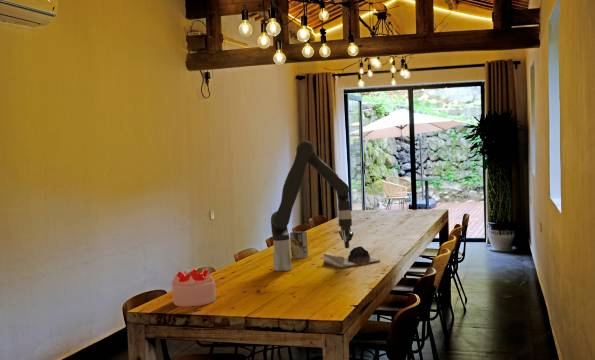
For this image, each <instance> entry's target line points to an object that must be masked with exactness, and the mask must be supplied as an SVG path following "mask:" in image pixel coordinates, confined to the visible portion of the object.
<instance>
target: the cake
mask: <svg viewBox="0 0 595 360" xmlns="http://www.w3.org/2000/svg"><path fill="white" fill-rule="evenodd" d="M171 284H172V285H171V287H172V288H171V289H172V300H173V301H172V302H173V305H174V306H175V307H180V308H181V307H182V308H191V307H192V306H193V307H200V306H206V305H208V304H212V303H213V302H215V301H216V300H217V291H216V280H215V279H214V277H213V276H212V275H211V272H210V271H209V269H205V268H202V271H201V272H200V271H199V270H198V269H196V268H194V269H193V270H192V271H191V272H189V273H188V272H187V271H186V270H185V271H184V273H183V272H182V271H178V272H177V273H176V274H175V276H174V278H173V280H172V281H171ZM193 307H192V308H193Z"/></svg>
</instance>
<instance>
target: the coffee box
mask: <svg viewBox="0 0 595 360" xmlns="http://www.w3.org/2000/svg"><path fill="white" fill-rule="evenodd" d="M307 236H308V235H307V231H292V232H289V240H290V254H291V259H306V258H308V257H309V250H308V247H309V246H308V237H307Z"/></svg>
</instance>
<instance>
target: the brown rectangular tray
mask: <svg viewBox="0 0 595 360" xmlns="http://www.w3.org/2000/svg"><path fill="white" fill-rule="evenodd" d="M322 254H323V256H322V257H323V262H322V264H323V265H325V266H329V267H333V268H338V269H340V270H341V269H347V268H353V267H354V268H355V267H359V266H363V265H369V264H370V265H371V264H376V263H380V262H381V260H380V259H377V258H373V257H372V258H371V257H370V260H369V261H363V262H351V261H349V260H348V257H347V258H345V257H343V256H342V255H341V256H340V255H336V254H332V253H329V252H328V253H327V252H326V253H325V252H324V253H322Z"/></svg>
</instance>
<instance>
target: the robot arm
mask: <svg viewBox="0 0 595 360" xmlns="http://www.w3.org/2000/svg"><path fill="white" fill-rule="evenodd" d="M295 151H296V154H295V157H294V161H293V163H292V165H291V168H290V169H289V170H288V171H289V172H288V173H287V176H286V178H285V180H284V184H283V188H282V193H281V199H280V200H281V201H280V203H279V207H278V209H277V211H274V212H273V213H272V214H271V217H270V227H271V236H272V240H273V241H272V242H273V243H272V244H273V253H272V259H273V260H272V261H273V270H274V271H275V272H285V271H287V272H288V271H290V270H292V254H291V242H290V232H289V231H288V224H289V223H290V220H291V215H292V211H293V207H294V205H295V202H296V200H297V197H298V194H299V192H300V189H301V186H302V183H303V180H304V176H305V172H306V169H307V165H308V164H309V165H311V166H312V167H313V168H314V170H315V171H316V172H317V173H318V174H319V175H320V176H321V178H323V180H325V181H326V182H327V183H328V184H329V185H330V186H331V187H332V188H333V190H335V191H336V196H337V208H338V209H337V211H338V212H337V217H338V218H337V220H338V227H340V230H339V231H338V233H339V236H340V238H341V240H342V241H343V242H344V248H345V249H349V248H350V241H352V239H353V236H354V232H353V231H351V230H352V229H351V227H352V226H353V220H352V219H353V218H352V217H353V216H352V210H351V201H350V194H349V192H350V186H349V185H348V184H347V183H346V182H345V181H344V180H342V179H341V177H340V176H339V175H338V174H337V173H336V171H334V170H333V168H332V167H330V166H329V165H328V164H327V163H326V162H325V161H323V160H322V159H321V158H320V157H319V155H317V153H316V152H315V151H314V147H313V144H312V143H311V141H308V140H303V141H301V142H300V143H299V144H297V146H296V150H295Z"/></svg>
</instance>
